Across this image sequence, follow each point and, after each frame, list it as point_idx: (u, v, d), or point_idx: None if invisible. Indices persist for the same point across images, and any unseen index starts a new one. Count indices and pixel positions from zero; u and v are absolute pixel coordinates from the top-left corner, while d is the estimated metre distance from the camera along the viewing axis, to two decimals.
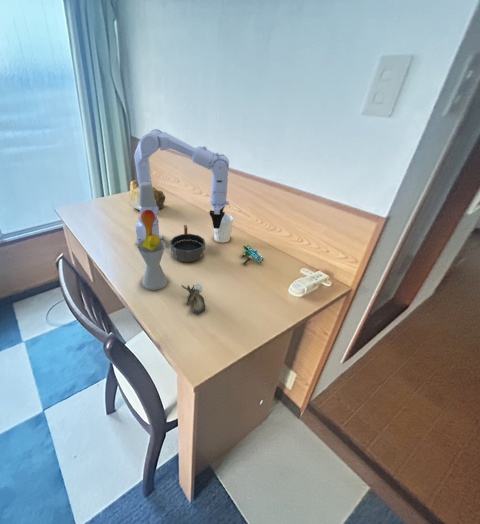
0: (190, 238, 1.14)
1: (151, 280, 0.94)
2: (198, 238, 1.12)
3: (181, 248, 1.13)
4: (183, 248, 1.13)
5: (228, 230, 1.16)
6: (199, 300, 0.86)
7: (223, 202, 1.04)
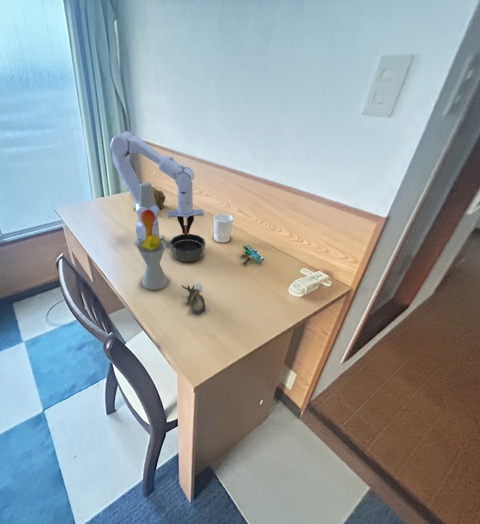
0: (190, 238, 1.14)
1: (151, 280, 0.94)
2: (198, 238, 1.12)
3: (181, 248, 1.13)
4: (183, 248, 1.13)
5: (228, 230, 1.16)
6: (199, 300, 0.86)
7: (180, 212, 1.08)
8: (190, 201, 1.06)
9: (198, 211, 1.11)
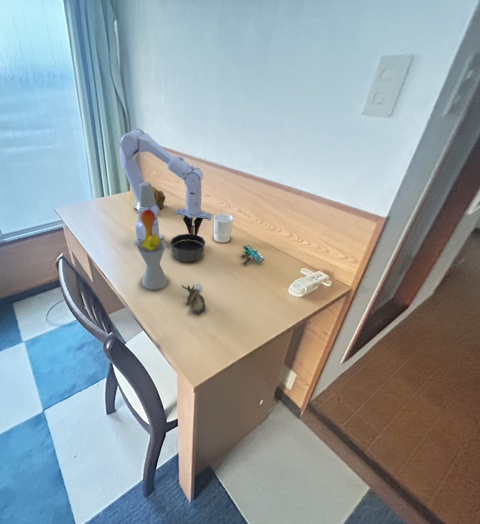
0: (195, 239, 1.14)
1: (151, 280, 0.94)
2: (201, 240, 1.11)
3: (183, 247, 1.14)
4: (185, 247, 1.13)
5: (228, 230, 1.16)
6: (199, 300, 0.86)
7: (186, 212, 1.09)
8: (199, 202, 1.05)
9: (206, 214, 1.08)
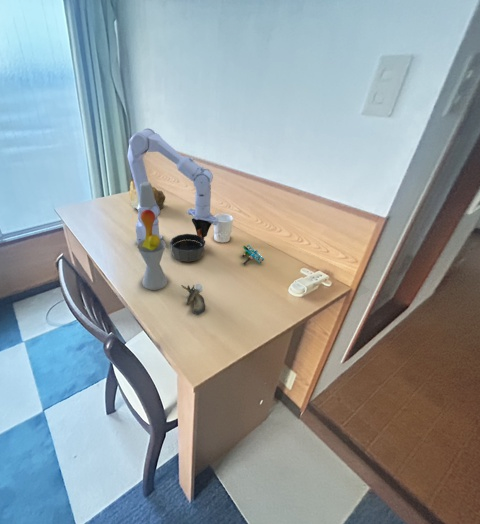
0: (200, 241, 1.12)
1: (151, 280, 0.94)
2: (203, 244, 1.08)
3: (188, 246, 1.14)
4: (189, 247, 1.13)
5: (228, 230, 1.16)
6: (199, 300, 0.86)
7: (195, 212, 1.08)
8: (208, 204, 1.03)
9: (212, 219, 1.05)
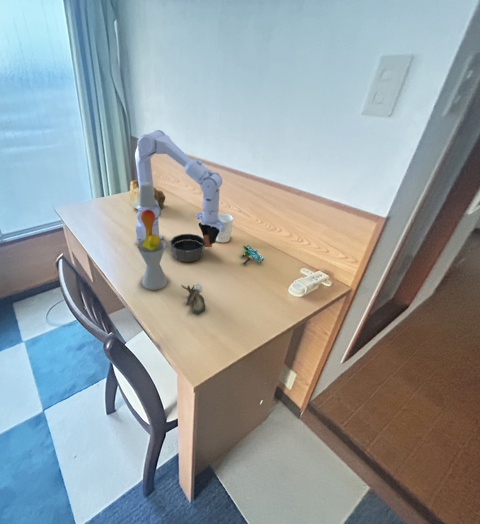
0: None
1: (151, 280, 0.94)
2: None
3: (194, 248, 1.13)
4: (193, 249, 1.12)
5: (228, 230, 1.16)
6: (199, 300, 0.86)
7: (202, 217, 1.04)
8: (215, 209, 0.99)
9: (219, 225, 1.00)
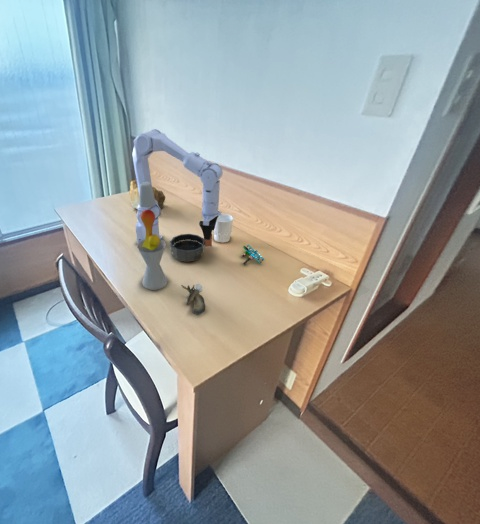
0: None
1: (151, 280, 0.94)
2: None
3: (193, 247, 1.13)
4: (193, 249, 1.12)
5: (228, 230, 1.16)
6: (199, 300, 0.86)
7: (214, 213, 1.00)
8: (215, 201, 0.97)
9: None
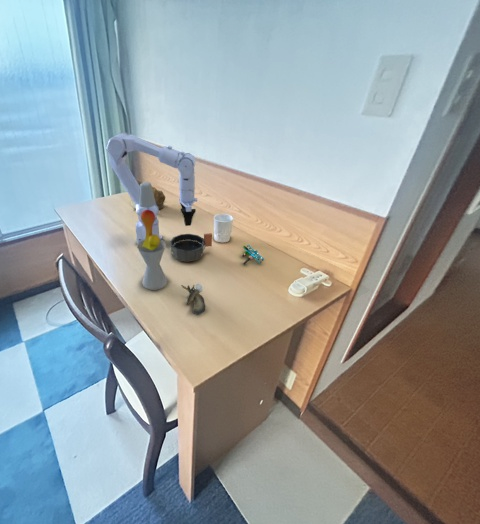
0: None
1: (151, 280, 0.94)
2: None
3: (193, 247, 1.13)
4: (193, 249, 1.12)
5: (228, 230, 1.16)
6: (199, 300, 0.86)
7: (192, 199, 1.07)
8: (192, 188, 1.04)
9: None
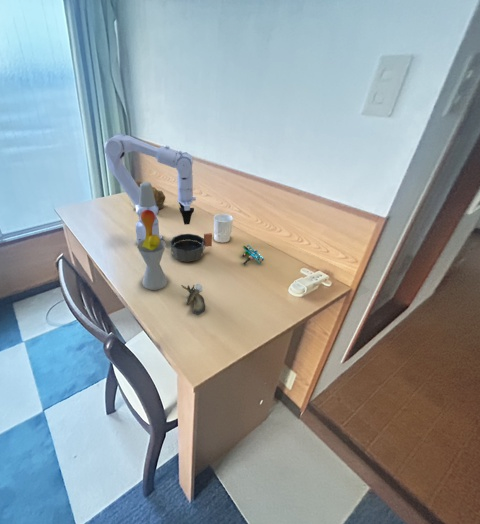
0: None
1: (151, 280, 0.94)
2: None
3: (193, 247, 1.13)
4: (193, 249, 1.12)
5: (228, 230, 1.16)
6: (199, 300, 0.86)
7: (191, 198, 1.07)
8: (191, 187, 1.05)
9: None
